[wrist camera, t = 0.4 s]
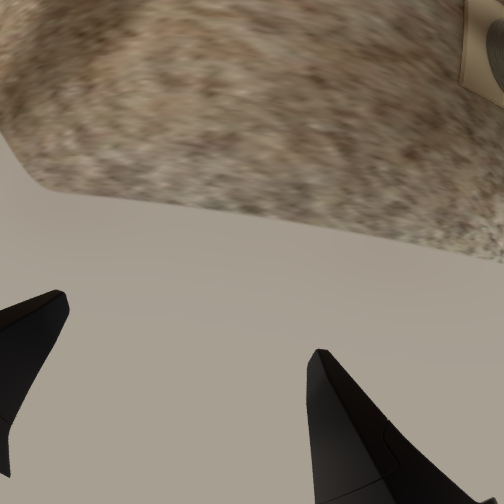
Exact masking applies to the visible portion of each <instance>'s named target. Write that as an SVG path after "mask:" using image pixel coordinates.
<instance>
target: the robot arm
mask: <svg viewBox="0 0 504 504" xmlns="http://www.w3.org/2000/svg"><path fill="white" fill-rule="evenodd" d="M68 315H69V304H68V301H67V297H66V294H65V293H64V292H62V291H60V290H53V291H50V292H47V293H45V294H42V295H40V296H37V297H34V298H31V299H29V300H26V301H23V302H21V303H18V304H16V305H13V306H10V307H8V308H5V309H3V310H0V473H1V474H3V475H5V476H7V477H9V478H10V475H11V473H10V462H9V445H8V435H9V431H10V428H11V425H12V424H13V421H14V419H15V417H16V414H17V413H18V411H19V409H20V407H21V405H22V402H23V401H24V399H25V397H26V395H27V393H28V391H29V389H30V387H31V385H32V383H33V381H34V380H35V378H36V376H37V374H38V372H39V371H40V369H41V367H42V365H43V363H44V362H45V360H46V358H47V356H48V355H49V353H50V351H51V350H52V348H53V346H54V344H55V342H56V340H57V338H58V336H59V334H60V332H61V330H62V328H63V326H64V323H65V321H66V319H67V317H68ZM306 394H307V395H306V396H307V397H306V406H307V415H308V425H309V436H310V447H311V458H312V469H313V482H314V495H315V504H498V503H497V501H496V499H495V498H494V497H492V498H490V499H487V500H485V501H483V502H481V503H478V502H476V501H474V500H473V499H472V498H470V497H469V496H468V495H467V494H466V493H465V492H464V491H463V490H461V489H460V488H459V487H458V486H457V485H456V484H455V483H454V482H452V481H451V480H450V479H449V478H448V477H447V476H446V475H445V474H444V473H443V472H441V471H440V470H439V469H438V468H437V467H436V466H435V465H434V464H433V463H432V462H430V461H429V460H428V459H427V458H426V457H425V456H424V455H423V454H422V453H421V452H420V451H418V450H417V449H416V448H415V447H414V446H413V445H412V444H411V443H410V442H409V441H408V440H407V439H406V438H405V437H404V436H403V435H402V434H401V433H400V432H399V430H398V429H397V428H396V427H395V426H394V425H393V424H392V423H391V422H390V420H387V417H386V416H385V415H384V414H383V413H382V412H381V411H380V409H379V408H378V407H377V406H376V405H375V404H374V403H373V401H372V400H371V399H370V398H369V397H368V396H367V395H366V393H365V392H364V391H363V390H362V389H361V388H360V386H359V385H358V384H357V383H356V382H355V381H354V380H353V378H352V377H351V376H350V375H349V374H348V373H347V371H346V370H345V369H344V368H343V367H342V366H341V365H340V363H339V362H338V361H337V360H336V359H335V358H334V357H333V355H332V354H331V353H330V352H329V351H328V350H324V349H316V350H315V352H314V354H313V355H312V357H311V359H310V361H309V362H308V366H307V393H306Z"/></svg>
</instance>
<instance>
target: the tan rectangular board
mask: <svg viewBox="0 0 504 504" xmlns="http://www.w3.org/2000/svg"><path fill="white" fill-rule="evenodd" d="M502 18H504V6H503V5H502V4H501V3H499V2H498V1H496V0H464V37H463V51H462V62H461V71H460V79H459V85H460V86H462V87H464V88H466V89H468V90H470V91H472V92H474V93H476V94H478V95H480V96H482V97H484V98H486V99H488V100H489V101H491V102H493V103H495V104H497V105H498V106H500V107H502V108H503V109H504V93H503V91H502V90H501V89H500V87H499V85H498V84H497V82H496V80H495V78H494V76H493V73H492V71H491V68H490V65H489V61H488V57H487V50H486V38H487V32H488V29H489V27H490V25H491V24H492V23H493V22H494V21H495V20H497V19H502Z"/></svg>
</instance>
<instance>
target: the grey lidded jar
mask: <svg viewBox="0 0 504 504" xmlns="http://www.w3.org/2000/svg"><path fill="white" fill-rule="evenodd" d="M486 50H487V57H488V61H489V65H490V68H491V71H492V73H493V76H494V78H495V80H496V82H497V84H498V85H499V87H500V89H501V90H502V91H503V93H504V18H502V19H497V20H495V21H494V22H493V23H492V24H491V25H490V27H489V29H488V32H487V38H486Z"/></svg>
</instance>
